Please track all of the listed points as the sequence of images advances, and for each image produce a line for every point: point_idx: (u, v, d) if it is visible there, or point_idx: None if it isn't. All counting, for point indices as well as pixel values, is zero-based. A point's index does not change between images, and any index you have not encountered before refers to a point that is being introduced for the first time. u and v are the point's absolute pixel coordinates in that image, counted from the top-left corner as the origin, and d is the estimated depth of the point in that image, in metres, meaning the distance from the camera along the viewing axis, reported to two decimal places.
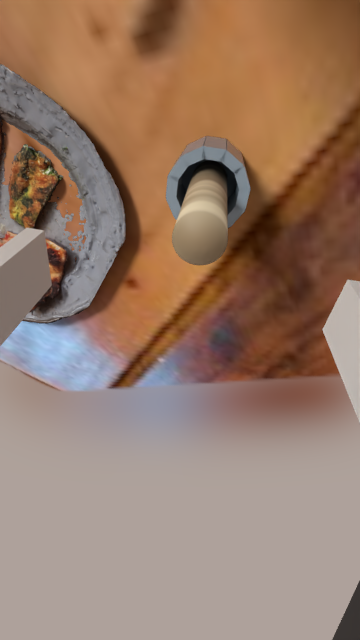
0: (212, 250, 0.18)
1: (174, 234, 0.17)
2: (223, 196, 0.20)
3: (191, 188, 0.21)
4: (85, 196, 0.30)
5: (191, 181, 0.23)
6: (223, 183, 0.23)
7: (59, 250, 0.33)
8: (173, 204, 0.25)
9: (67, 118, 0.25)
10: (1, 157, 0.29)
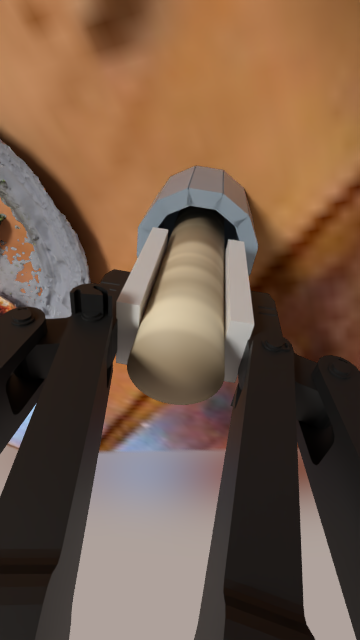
0: (198, 387, 0.10)
1: (130, 363, 0.10)
2: (218, 272, 0.13)
3: (169, 256, 0.14)
4: (36, 241, 0.23)
5: (172, 236, 0.16)
6: (218, 241, 0.15)
7: (7, 307, 0.25)
8: None
9: None
10: None
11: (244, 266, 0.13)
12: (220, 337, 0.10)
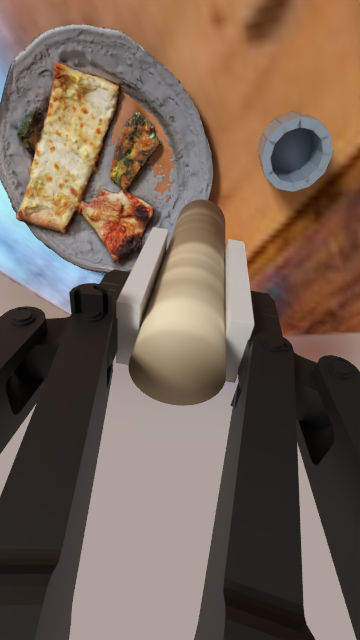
0: (199, 388, 0.10)
1: (132, 364, 0.10)
2: (219, 273, 0.13)
3: (170, 257, 0.14)
4: (179, 159, 0.36)
5: (173, 237, 0.16)
6: (219, 242, 0.15)
7: (148, 207, 0.38)
8: (266, 165, 0.31)
9: (182, 90, 0.31)
10: (112, 122, 0.35)
11: (244, 266, 0.13)
12: (221, 338, 0.10)
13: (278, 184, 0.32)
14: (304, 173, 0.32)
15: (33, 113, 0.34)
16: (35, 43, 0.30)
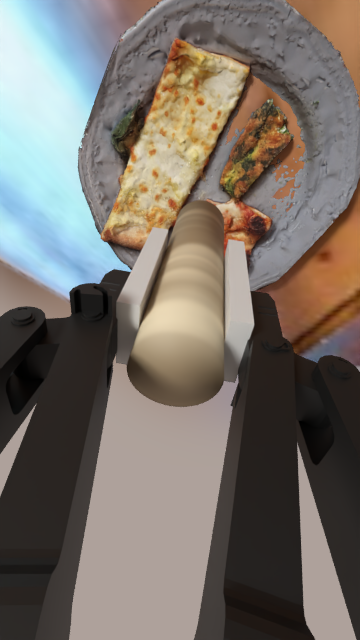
0: (198, 389, 0.10)
1: (130, 365, 0.10)
2: (217, 274, 0.13)
3: (168, 258, 0.14)
4: (314, 157, 0.28)
5: (171, 238, 0.16)
6: (218, 243, 0.15)
7: (265, 219, 0.31)
8: None
9: (341, 66, 0.24)
10: (231, 115, 0.27)
11: (244, 266, 0.13)
12: (219, 339, 0.10)
13: None
14: None
15: (135, 108, 0.27)
16: (150, 15, 0.23)
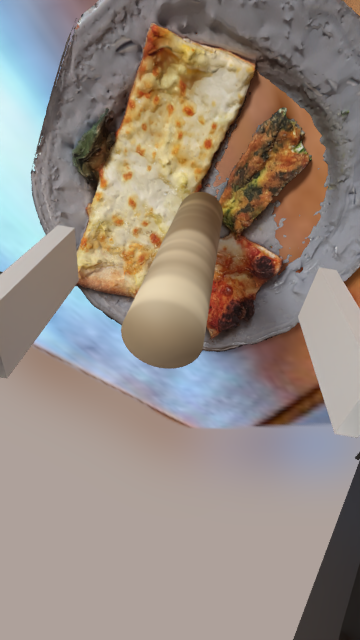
0: (182, 352, 0.12)
1: (124, 329, 0.12)
2: (208, 256, 0.15)
3: (165, 242, 0.15)
4: (339, 184, 0.22)
5: (170, 225, 0.18)
6: (212, 230, 0.17)
7: (274, 259, 0.24)
8: None
9: None
10: (230, 128, 0.21)
11: (352, 302, 0.12)
12: (202, 310, 0.12)
13: None
14: None
15: (102, 120, 0.20)
16: None
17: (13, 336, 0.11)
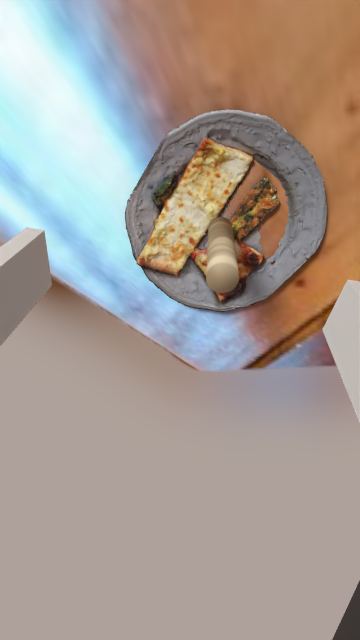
0: (229, 284, 0.30)
1: (208, 274, 0.30)
2: (234, 249, 0.33)
3: (213, 242, 0.33)
4: (294, 216, 0.40)
5: (211, 234, 0.36)
6: (232, 237, 0.35)
7: (259, 255, 0.43)
8: None
9: (313, 163, 0.36)
10: (238, 184, 0.39)
11: None
12: (237, 268, 0.30)
13: None
14: None
15: (172, 177, 0.38)
16: (189, 123, 0.34)
17: None
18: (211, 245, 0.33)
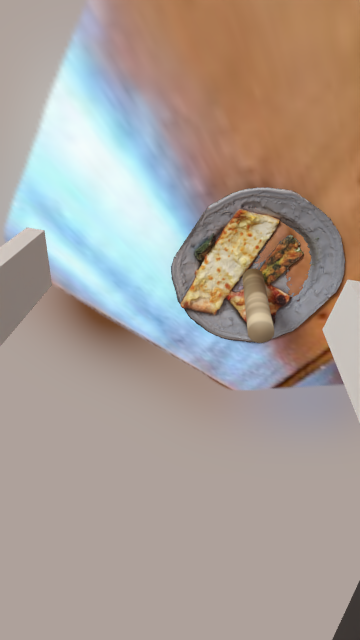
0: (266, 337, 0.37)
1: (249, 330, 0.37)
2: (268, 303, 0.40)
3: (250, 297, 0.41)
4: (316, 263, 0.47)
5: (247, 287, 0.43)
6: (265, 290, 0.43)
7: (286, 296, 0.50)
8: None
9: (331, 224, 0.43)
10: (267, 240, 0.46)
11: None
12: (272, 323, 0.37)
13: None
14: None
15: (211, 238, 0.46)
16: (226, 198, 0.42)
17: None
18: (248, 300, 0.41)
